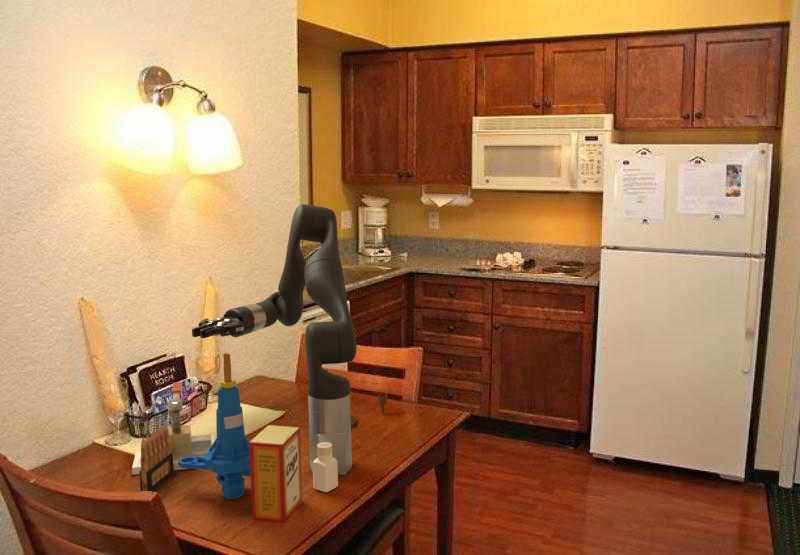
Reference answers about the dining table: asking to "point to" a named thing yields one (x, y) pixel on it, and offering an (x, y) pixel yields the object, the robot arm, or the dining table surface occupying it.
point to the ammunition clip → (156, 460)
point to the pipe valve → (186, 439)
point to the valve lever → (176, 397)
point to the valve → (226, 441)
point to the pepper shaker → (325, 468)
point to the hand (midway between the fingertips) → (197, 333)
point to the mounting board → (137, 464)
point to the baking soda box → (275, 473)
